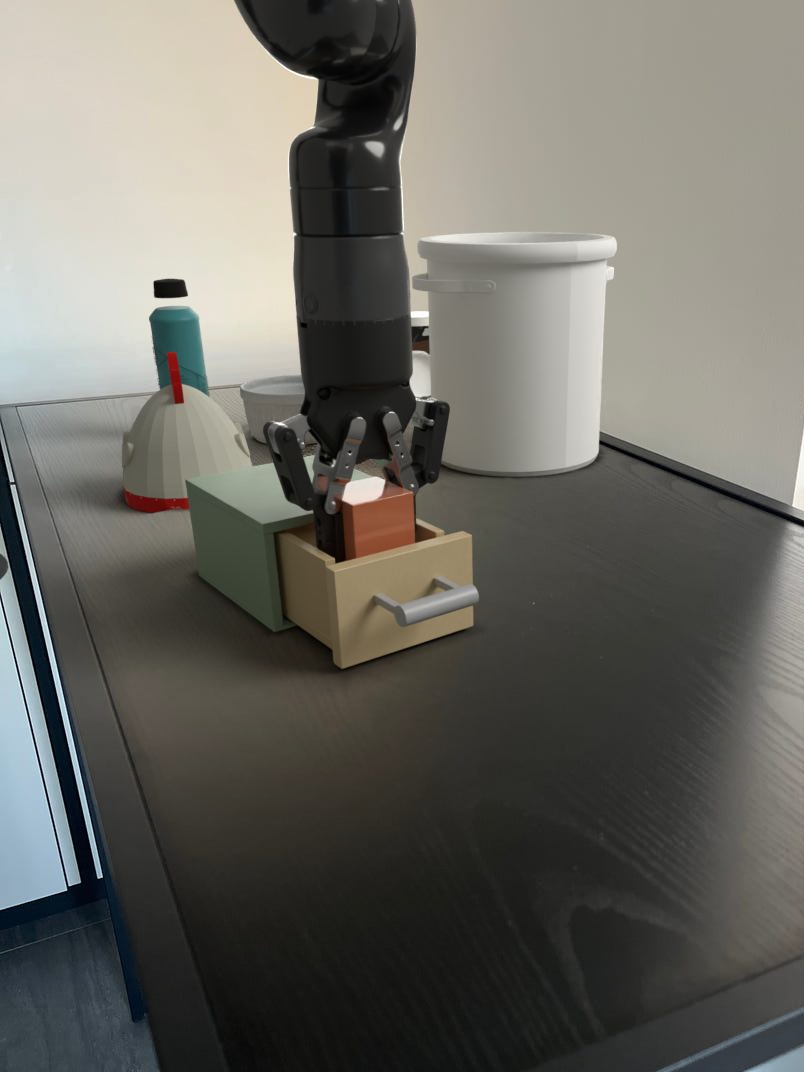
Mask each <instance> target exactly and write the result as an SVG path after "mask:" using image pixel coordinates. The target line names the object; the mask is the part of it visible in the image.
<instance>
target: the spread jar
mask: <svg viewBox="0 0 804 1072" xmlns="http://www.w3.org/2000/svg"><path fill="white" fill-rule="evenodd" d="M411 332H412V359H413V374H412V376H411V378H410V387H411V389H412V392H413V393H414V395H415V398H421V397H423V396H427V397H431V378H430V345H429V312H428V311H411Z"/></svg>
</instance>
